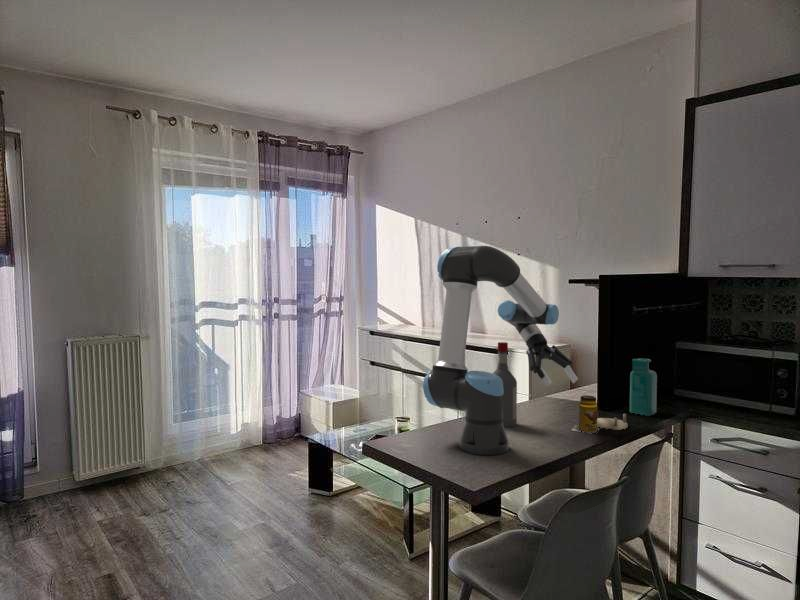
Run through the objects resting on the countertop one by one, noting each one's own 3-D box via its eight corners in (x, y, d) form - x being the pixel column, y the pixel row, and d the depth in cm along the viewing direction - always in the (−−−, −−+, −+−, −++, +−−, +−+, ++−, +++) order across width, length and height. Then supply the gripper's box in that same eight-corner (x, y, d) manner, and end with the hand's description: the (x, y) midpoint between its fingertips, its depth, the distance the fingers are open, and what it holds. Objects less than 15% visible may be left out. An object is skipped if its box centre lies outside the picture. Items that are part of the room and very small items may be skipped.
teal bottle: (635, 409, 216) (636, 356, 216) (657, 413, 210) (658, 358, 210) (626, 413, 209) (627, 358, 209) (648, 417, 203) (649, 360, 203)
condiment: (596, 434, 181) (596, 399, 180) (570, 430, 185) (571, 396, 185) (599, 429, 187) (600, 395, 187) (574, 426, 191) (575, 393, 191)
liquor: (510, 420, 198) (511, 341, 197) (518, 427, 189) (518, 344, 188) (486, 421, 197) (487, 341, 196) (492, 427, 188) (493, 344, 187)
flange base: (599, 429, 186) (599, 418, 186) (587, 421, 198) (587, 410, 198) (633, 430, 186) (633, 418, 186) (619, 421, 198) (619, 410, 198)
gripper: (551, 343, 216) (580, 385, 203) (505, 346, 204) (532, 392, 191) (561, 331, 211) (591, 374, 199) (514, 334, 199) (543, 379, 186)
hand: (562, 383), depth 195 cm, fingers open, 13 cm apart
